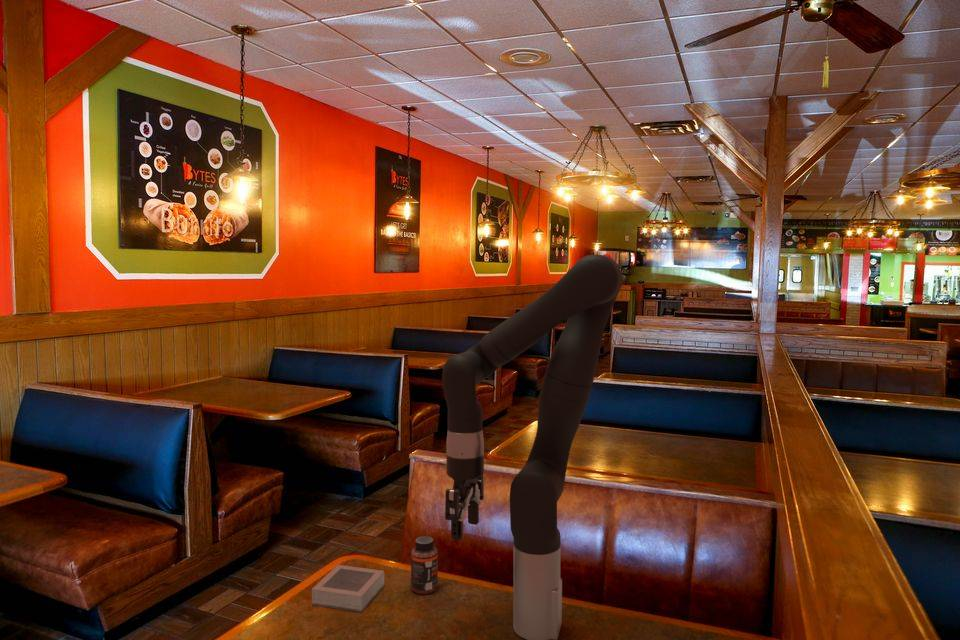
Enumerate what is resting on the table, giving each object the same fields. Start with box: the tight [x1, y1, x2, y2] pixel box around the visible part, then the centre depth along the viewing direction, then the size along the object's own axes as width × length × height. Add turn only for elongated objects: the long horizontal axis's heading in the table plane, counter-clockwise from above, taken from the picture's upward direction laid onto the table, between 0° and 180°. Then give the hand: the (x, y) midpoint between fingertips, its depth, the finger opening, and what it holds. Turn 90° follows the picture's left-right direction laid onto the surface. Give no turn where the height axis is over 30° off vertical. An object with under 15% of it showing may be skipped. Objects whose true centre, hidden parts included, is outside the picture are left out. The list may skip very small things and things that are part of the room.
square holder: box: [311, 564, 385, 613], centre depth 139 cm, size 12×12×4 cm
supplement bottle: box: [410, 535, 439, 595], centre depth 142 cm, size 6×6×11 cm
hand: (465, 530), depth 128 cm, fingers open, 8 cm apart
